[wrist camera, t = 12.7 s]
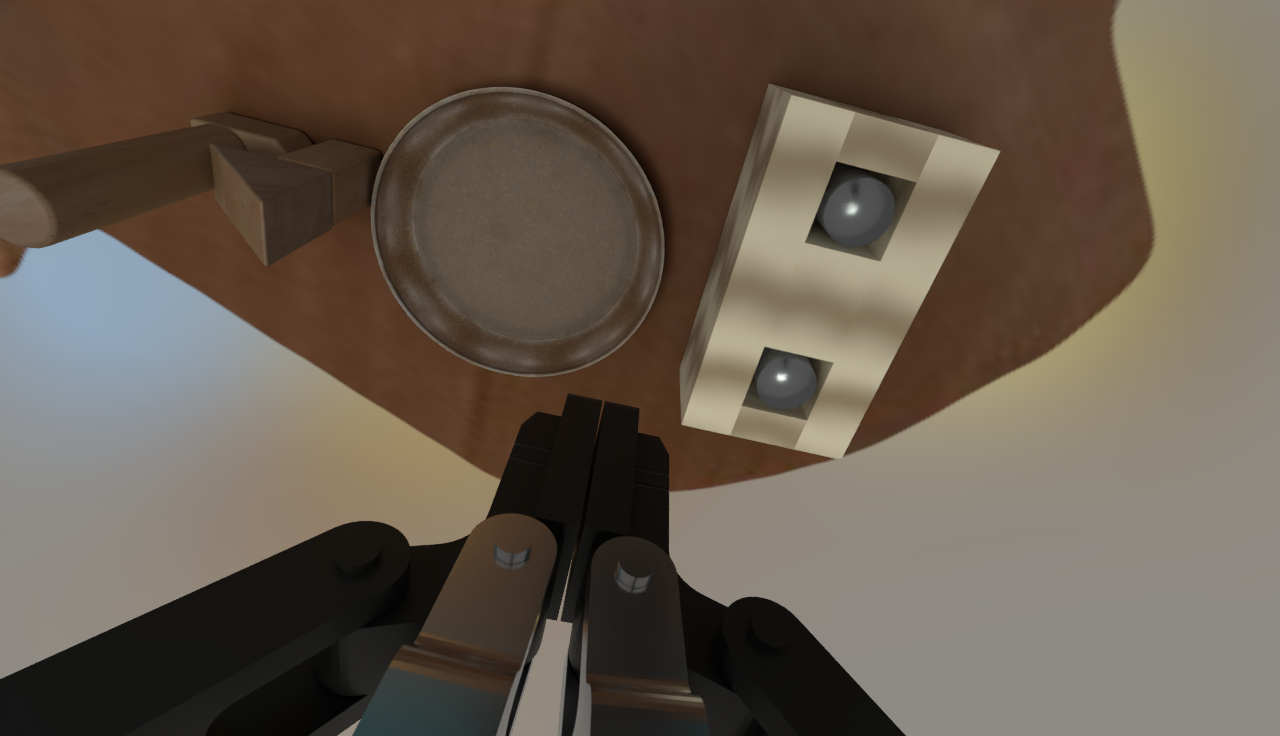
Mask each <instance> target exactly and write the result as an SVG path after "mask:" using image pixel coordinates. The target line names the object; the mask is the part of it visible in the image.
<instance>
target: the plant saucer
mask: <svg viewBox="0 0 1280 736" xmlns="http://www.w3.org/2000/svg"><path fill="white" fill-rule="evenodd" d="M371 228H372V237H373V243H374V248H375V252H376V255H377V258H378V261H379V265H380V268H381V270H382V273H383V275H384V277H385V279H386V282H387V284H388V285H389V287H390V289H391V291H392V293H393V295H394V296H395V298H396V299H397V301H398V302H399V304H400V305H401V307H402V308H403V309H404V311H405V312H406V313H407V315H408V316H409V317H410V318H411V319H412V320H413V322H414V323H415V324H416V325H417V326H418V327H419V328H420V329H421V330H422V331H423V332H424V333H426V334H427V335H428V336H429V337H430V338H431V339H433V340H434V341H435V342H437V343H438V344H439V345H441V346H442V347H444V348H445V349H446V350H448V351H450V352H451V353H453V354H455V355H456V356H458V357H460V358H462V359H464V360H466V361H468V362H470V363H472V364H475V365H477V366H480V367H482V368H485V369H488V370H492V371H496V372H499V373H504V374H510V375H515V376H527V377H543V376H554V375H560V374H564V373H569V372H573V371H576V370H578V369H582V368H585V367H587V366H590V365H592V364H594V363H596V362H598V361H600V360H601V359H603V358H605V357H607V356H608V355H610V354H611V353H613V352H614V351H615V350H617V349H618V348H619V347H620V346H622V345H623V344H624V343H625V342H626V341H627V340H628V339H629V338H630V337H631V336H632V335H633V334H634V332H635V331H636V330H637V329H638V327H639V326H640V325H641V323H642V322H643V320H644V319H645V317H646V315H647V314H648V312H649V310H650V308H651V306H652V304H653V302H654V300H655V297H656V295H657V292H658V288H659V285H660V281H661V277H662V272H663V265H664V248H665V246H664V231H663V224H662V218H661V214H660V210H659V206H658V203H657V200H656V197H655V195H654V192H653V190H652V187H651V185H650V183H649V181H648V179H647V177H646V175H645V173H644V172H643V170H642V168H641V167H640V165H639V164H638V162H637V161H636V159H635V158H634V156H633V155H632V154H631V152H630V151H629V150H628V149H627V147H626V146H625V145H624V144H623V143H622V142H621V141H620V140H619V138H618V137H617V136H616V135H615V134H614V133H613V132H612V131H611V130H609V129H608V128H607V127H606V126H605V125H603V124H602V123H601V122H600V121H598V120H597V119H596V118H594V117H593V116H591V115H590V114H588V113H587V112H585V111H584V110H582V109H580V108H578V107H577V106H575V105H573V104H571V103H569V102H566V101H564V100H562V99H559V98H557V97H554V96H551V95H548V94H545V93H542V92H538V91H534V90H529V89H522V88H512V87H489V88H480V89H474V90H469V91H465V92H462V93H458V94H456V95H453V96H450V97H447V98H445V99H443V100H441V101H439V102H437V103H435V104H433V105H432V106H430V107H428V108H427V109H425V110H424V111H422V112H421V113H420V114H419V115H417V116H416V117H415V118H414V119H412V120H411V121H410V122H409V123H408V124H407V125H406V126H405V127H404V128H403V129H402V131H401V132H400V133H399V134H398V135H397V137H396V138H395V140H394V141H393V143H392V144H391V145H390V147H389V149H388V150H387V152H386V154H385V156H384V158H383V160H382V162H381V165H380V167H379V170H378V173H377V176H376V179H375V183H374V188H373V194H372V202H371Z"/></svg>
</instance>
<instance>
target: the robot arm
mask: <svg viewBox="0 0 1280 736" xmlns="http://www.w3.org/2000/svg"><path fill="white" fill-rule="evenodd" d="M601 406H602V400H598V399H593V398H588V397H584V396H579V395H574V394H570V393H568V396H567V399H566V403H565V406H564V410H563V414H562V417H561V416H556V415H551V414H546V413H542V412H536V413H535V414H534V415H533V416H531V417H530V418H529V419H528V420H527V421H525V422H524V423H523V424H522V425H521V428H520V430H519V433H518V436H517V438H516V441H515V445H514V446H513V449H512V452H511V454H510V458H509V460H508V462H507V465H506V468H505V470H504V473H503V476H502V478H501V481H500V484H499V487H498V489H497V492H496V495H495V497H494V500H493V503H492V505H491V508H490V511H489V513H488V515H487V517H486V519H485V520H484V521H482V522H481V523H479V524H478V525H477V526H476V527H475V528H474V529H473V530H472V532H471V533H470V534H469V535H467V536H465V537H464V538H461V539H459V540H456V541H453V542H449V543H443V544H435V545H421V546H409V543H408V541H407V539H406V538H405V536H404V535H403V534H402V533H401V532H400V531H399V530H397V529H396V528H394V527H392V526H390V525H387V524H384V523H380V522H374V521H358V522H351V523H347V524H344V525H341V526H338V527H335V528H333V529H331V530H329V531H326V532H324V533H322V534H320V535H318V536H315V537H313V538H311V539H309V540H306V541H304V542H302V543H300V544H298V545H296V546H293V547H291V548H289V549H287V550H285V551H282V552H280V553H278V554H276V555H273V556H271V557H269V558H267V559H265V560H262V561H260V562H258V563H256V564H254V565H251V566H249V567H247V568H245V569H243V570H240V571H238V572H236V573H234V574H231V575H229V576H227V577H225V578H223V579H220V580H219V581H216V582H214V583H212V584H209V585H207V586H205V587H203V588H201V589H198V590H196V591H194V592H192V593H190V594H188V595H185V596H183V597H181V598H179V599H176V600H174V601H172V602H170V603H168V604H165V605H163V606H161V607H159V608H157V609H154V610H152V611H150V612H148V613H146V614H143V615H141V616H139V617H137V618H134V619H132V620H130V621H128V622H126V623H123V624H121V625H119V626H117V627H115V628H112V629H110V630H108V631H106V632H104V633H101V634H99V635H97V636H95V637H92V638H90V639H88V640H86V641H84V642H81V643H79V644H77V645H75V646H73V647H71V648H68V649H66V650H64V651H62V652H59V653H57V654H55V655H53V656H51V657H48V658H46V659H44V660H42V661H40V662H38V663H35V664H33V665H31V666H29V667H26V668H24V669H22V670H20V671H18V672H15V673H13V674H11V675H9V676H6V677H4V678H2V679H0V736H337V735H339V734H340V733H341V732H343V731H344V730H345V729H347V728H348V727H350V726H351V725H353V724H354V723H356V722H357V721H358V720H360V719H361V720H360V722H359V724H358V726H357V728H356V730H355V731H354V733H353V735H352V736H511V733H512V730H513V726H514V723H515V720H516V716H517V713H518V710H519V706H520V703H521V700H522V696H523V693H524V690H525V686H526V683H527V680H528V676H529V673H530V669H531V666H532V663H533V658H534V656H535V655H536V654H537V652H538V650H539V648H540V645H541V640H542V637H543V632H544V628H545V624H546V619H552V620H557V618H558V613H559V609H560V605H561V601H562V597H563V593H564V588H565V584H566V580H567V576H568V572H569V568H570V563H571V568H570V574H569V578H568V584H567V589H566V595H565V600H564V606H563V611H562V617H561V621H563V622H569V623H573V625H572V631H571V638H570V644H569V648H568V652H567V656H566V660H565V663H564V669H563V680H562V692H561V703H560V715H559V726H558V736H906V735H905V734H904V733H903V732H902V731H901V730H900V729H899V728H898V727H897V726H896V725H895V724H894V723H893V721H892V720H891V719H890V718H889V717H888V716H887V715H886V714H885V713H884V712H883V711H882V710H881V708H880V707H879V706H878V705H877V704H876V703H875V702H874V701H873V700H872V699H871V698H870V697H869V696H868V694H867V693H866V692H865V691H864V690H863V689H862V688H861V687H860V686H859V685H858V684H857V683H856V681H855V680H854V679H853V678H852V677H851V676H850V675H849V674H848V673H847V672H846V671H845V670H844V669H843V667H842V666H841V665H840V664H839V663H838V662H837V661H836V660H835V659H834V658H833V657H832V655H831V654H830V653H829V652H828V651H827V650H826V649H825V648H824V647H823V646H822V645H821V644H820V642H818V640H817V639H816V638H815V637H814V636H813V635H812V634H811V633H810V632H809V631H808V629H806V627H805V626H804V625H803V624H802V623H801V622H800V621H799V620H798V619H797V618H796V617H795V616H794V615H793V614H792V613H791V612H790V611H788V610H787V609H786V608H785V607H783V606H781V605H779V604H778V603H775V602H773V601H771V600H768V599H765V598H760V597H746V598H741V599H739V600H737V601H735V602H733V603H732V604H731V605H730V606H729V607H726V606H724V605H722V604H720V603H718V602H716V601H714V600H712V599H710V598H708V597H706V596H704V595H702V594H701V593H699V592H697V591H696V590H694V589H693V588H691V587H690V586H689V585H688V584H687V583H686V582H685V581H683V579H682V578H681V577H680V576H679V575H678V573H677V571H676V568H675V565H674V563H673V561H672V560H671V558H670V556H669V493H668V491H669V477H668V476H669V454H668V452H667V450H666V449H665V447H664V445H663V443H662V441H661V439H660V438H659V437H656V436H651V435H647V434H642V433H638V422H639V408H636V407H631V406H626V405H622V404H617V403H612V402H608V401H605V404H604V408H603V412H602V416H601V420H600V424H599V429H598V433H597V428H598V422H599V417H600V411H601ZM596 433H597V437H596ZM595 439H596V441H595ZM594 444H595V446H594ZM572 556H573V557H572ZM571 560H572V562H571Z"/></svg>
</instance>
